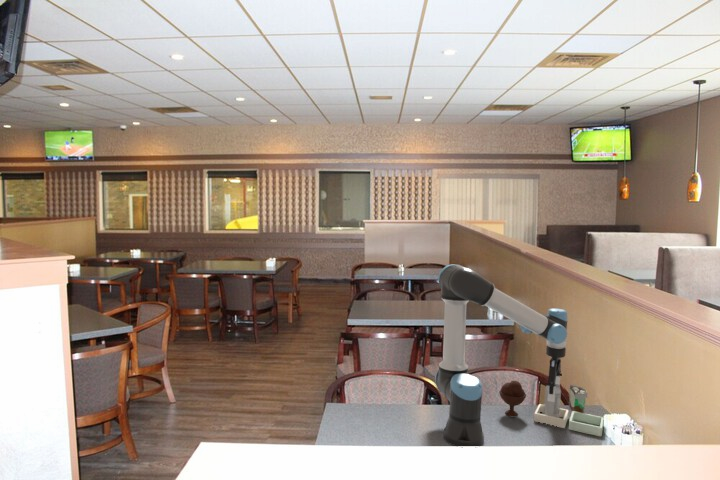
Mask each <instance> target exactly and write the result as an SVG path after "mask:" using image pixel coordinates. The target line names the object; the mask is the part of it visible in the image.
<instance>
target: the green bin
mask: <svg viewBox="0 0 720 480" xmlns="http://www.w3.org/2000/svg"><path fill="white" fill-rule="evenodd" d="M603 420H604V416H599V415H594V414H589V413H585V412H584V413H580V412H576V411H572V412H571V414H570V417H569V419H568V421H569V422H568V430H569V431H575V432H579V433H583V434H588V435H592V436H597V437H602V434H603V431H604V429H603V428H604V421H605V420H604V421H603Z"/></svg>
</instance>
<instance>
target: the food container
mask: <svg viewBox="0 0 720 480" xmlns="http://www.w3.org/2000/svg"><path fill="white" fill-rule="evenodd" d="M588 397H589V396H588V392H587V390H586V389H585V388H583V386H582V387H581V386H578V385H575V384H569V397H568V398H569V399H568V400H569V401H568V407H569V411H571V413H572V411H576V412H580V413H585V412H584V411H585V404H586V399H587V398H588Z"/></svg>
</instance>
